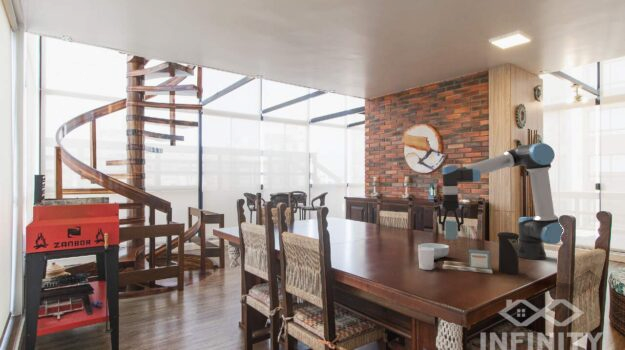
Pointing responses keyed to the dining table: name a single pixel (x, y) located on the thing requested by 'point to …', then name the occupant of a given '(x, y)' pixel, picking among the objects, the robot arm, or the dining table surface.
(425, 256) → the white cup
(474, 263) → the faced tea box
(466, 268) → the shelf
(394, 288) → the dining table surface
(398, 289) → the dining table surface
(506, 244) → the container
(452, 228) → the tea box
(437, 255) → the cereal bowl
